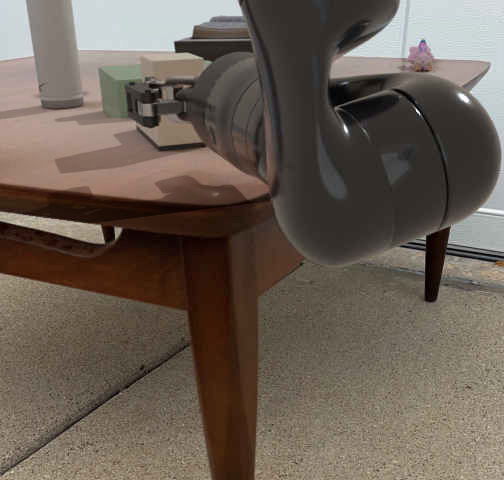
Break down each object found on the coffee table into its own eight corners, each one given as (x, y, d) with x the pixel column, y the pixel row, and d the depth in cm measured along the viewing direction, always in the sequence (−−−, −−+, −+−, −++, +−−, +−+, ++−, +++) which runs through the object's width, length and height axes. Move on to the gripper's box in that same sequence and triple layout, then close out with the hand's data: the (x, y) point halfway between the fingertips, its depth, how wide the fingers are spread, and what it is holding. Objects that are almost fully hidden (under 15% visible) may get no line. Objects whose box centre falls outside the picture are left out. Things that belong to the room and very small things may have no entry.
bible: (318, 62, 148) (319, 13, 144) (261, 78, 127) (260, 21, 123) (224, 59, 158) (222, 13, 154) (156, 73, 137) (152, 20, 133)
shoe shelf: (121, 130, 85) (116, 80, 83) (102, 110, 99) (98, 66, 97) (243, 120, 90) (242, 72, 88) (209, 102, 104) (207, 60, 101)
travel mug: (35, 109, 101) (11, -43, 92) (48, 102, 107) (28, -42, 98) (77, 109, 101) (57, -44, 92) (88, 101, 107) (71, -43, 98)
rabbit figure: (439, 79, 130) (433, 57, 142) (443, 47, 127) (436, 27, 139) (405, 79, 131) (402, 57, 143) (408, 47, 128) (404, 27, 140)
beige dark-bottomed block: (160, 166, 68) (152, 60, 64) (137, 142, 79) (129, 50, 74) (208, 161, 70) (203, 57, 66) (180, 138, 80) (174, 47, 76)
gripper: (358, 50, 47) (273, 36, 61) (150, 63, 42) (110, 44, 56) (354, 160, 50) (273, 122, 64) (160, 182, 46) (120, 136, 60)
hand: (197, 86), depth 60 cm, fingers open, 8 cm apart
